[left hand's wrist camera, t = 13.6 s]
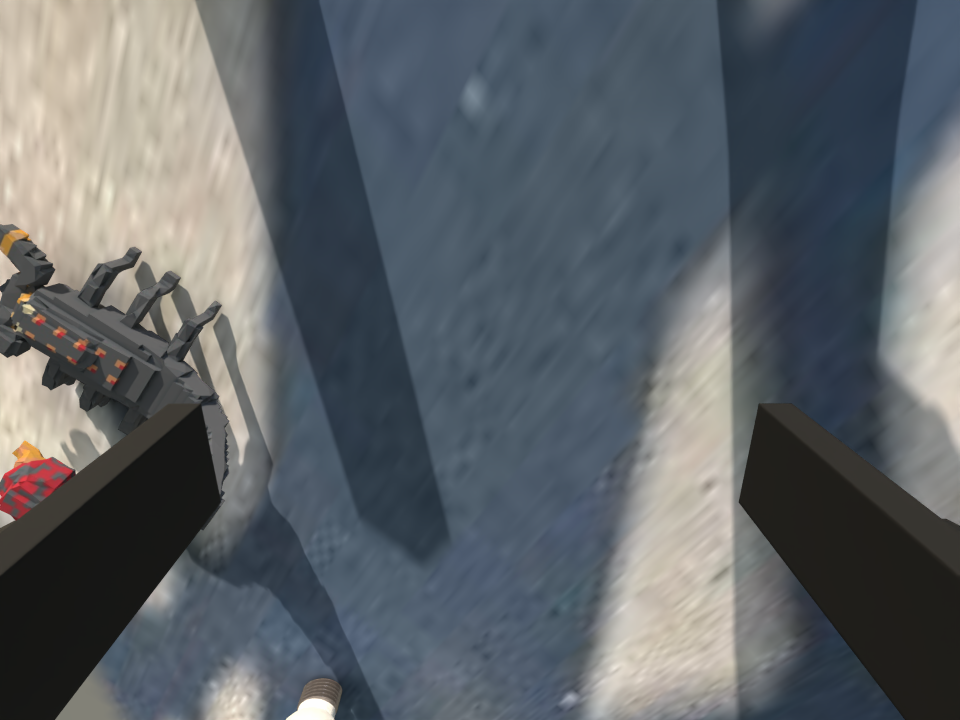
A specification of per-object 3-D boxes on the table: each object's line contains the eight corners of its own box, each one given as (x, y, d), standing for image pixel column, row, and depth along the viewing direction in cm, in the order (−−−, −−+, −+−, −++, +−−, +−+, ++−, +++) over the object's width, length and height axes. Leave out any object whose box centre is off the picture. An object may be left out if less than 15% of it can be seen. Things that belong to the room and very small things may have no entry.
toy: (240, 482, 46) (99, 670, 29) (-66, 300, 41) (-465, 401, 23) (321, 371, 43) (214, 511, 26) (-4, 154, 37) (-422, 146, 20)
